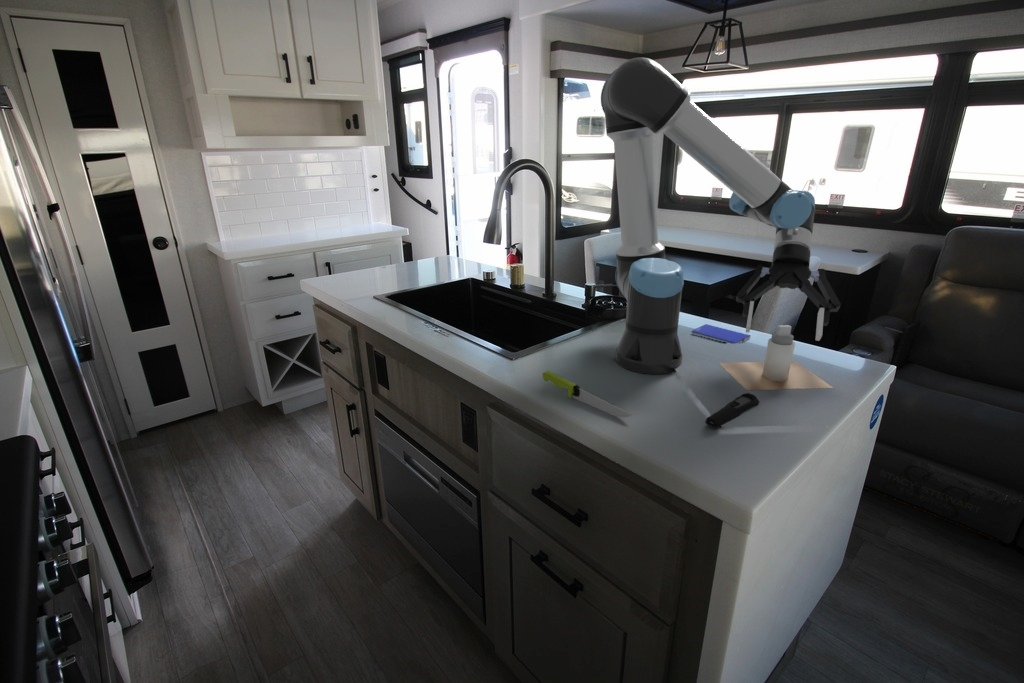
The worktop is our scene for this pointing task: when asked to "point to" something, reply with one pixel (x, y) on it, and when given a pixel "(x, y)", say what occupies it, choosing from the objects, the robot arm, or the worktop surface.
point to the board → (753, 380)
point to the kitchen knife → (584, 395)
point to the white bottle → (779, 354)
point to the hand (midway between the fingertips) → (782, 333)
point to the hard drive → (720, 334)
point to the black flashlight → (732, 410)
